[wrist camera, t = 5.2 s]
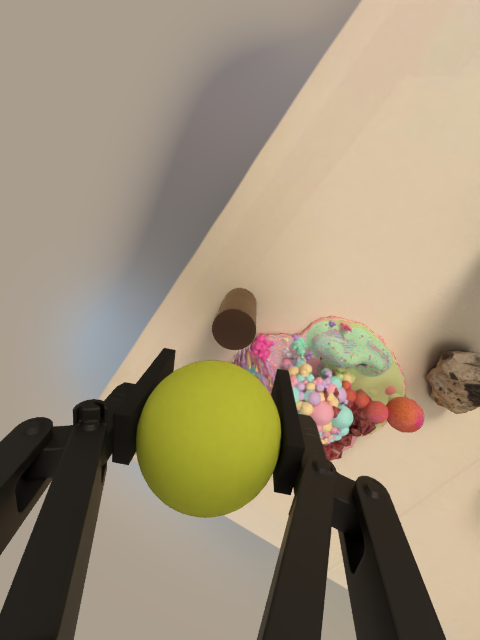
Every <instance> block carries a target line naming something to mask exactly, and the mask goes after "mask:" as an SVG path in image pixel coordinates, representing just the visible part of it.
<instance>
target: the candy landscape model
mask: <svg viewBox="0 0 480 640" xmlns="http://www.w3.org/2000/svg"><path fill="white" fill-rule="evenodd" d="M245 350H246V349H244V350H243V351H244V352H243V354H242V360H241V361H240V356H241V354H240V353H241V350H239V354H237V358H238V359H239V360H238V362H237V363H236V361H237V360H235V363H236V365H237V366H240V367H241V368H243V369H245V370H247V371H248V372H250V373H251V374H253V375H254V376H255V377H256V378H257V379H259V380H260V382H261V383H262V384H263V385H264V386H265V387H266V389H267V390H268V392H269V393H270V395H271V392H272V388H273V384H274V380H275V376H276V372H277V369H281V370H287V371H289V375H290V379H291V384H292V388H293V393H294V398H295V402H296V407H297V412H298V414H303V415H309V416H311V417H312V418H313V420H314V421H315V422H316V424H317V428H318V432H319V434H320V438H321V441H322V444H323V448H324V451H325V454H326V458H327V459H328V460H329V461H330V460H334V459H339V458H341V456H342V452H343V451H344V450H347V449H348V448H351V447H352V446H353V444H354V442H355V439H356V438H357V437H358V436H365V435H367V434H372V433H373V432H375V431H376V430H377V429H379V428H380V427H383V426H384V425H385V423H386V422H387V421H388V423H389V424H390V425H391V426H392V427H393V428H395V429H396V430H398V431H400V432H415V431H417V430H418V429H420V428H421V426H422V425H423V422H424V413H423V410H422V409H421V407H420V406H419V405H418V404H417V403H416V402H415V401H413V400H411V399H409V398H407V397H405V393H404V391H405V389H406V384H405V382H404V378H403V377H404V374H403V372H402V370H401V368H400V366H399V365H398V364H397V363H396V361H395V356H394V353H393V352H392V351H390V350H389V349H388V347H387V346H386V343H385V342H384V339H383V338H382V337H380V336H378V335H375V334H374V332H372V331H371V330H369V329H368V327H367V326H366V325H364V324H361V323H358V322H354V321H350V320H346V319H342V318H338V317H334V316H329V317H327V318H320V319H318V320H316V321H314V322H313V323H311V324H310V325H309V327H308V328H307V329H305V330H304V331H303V332H302V333H301V334H299V335H298V334H295V335H294V336H289V335H286V334H279V335H271V334H268V335H266V336H264V335H263V334H259V335H257V337H256V341H255V342H254V343H253V344H252V349H251V350H250V344H249V347H248V350H249V351H247V352H245ZM245 353H246V354H245ZM234 357H235V356H234ZM234 357H233V362H234Z"/></svg>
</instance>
